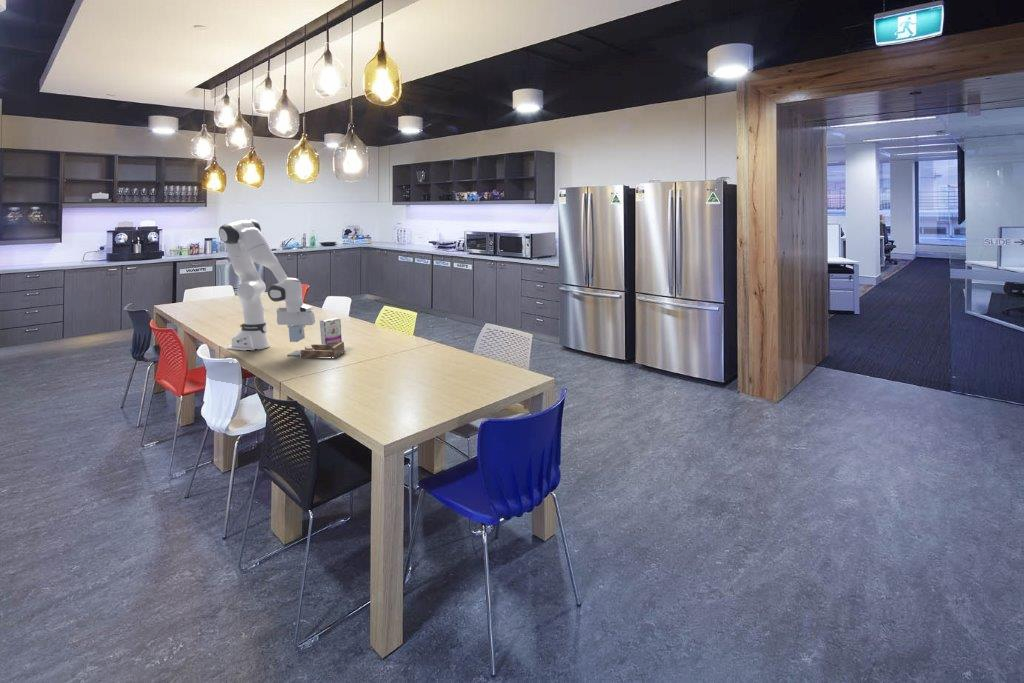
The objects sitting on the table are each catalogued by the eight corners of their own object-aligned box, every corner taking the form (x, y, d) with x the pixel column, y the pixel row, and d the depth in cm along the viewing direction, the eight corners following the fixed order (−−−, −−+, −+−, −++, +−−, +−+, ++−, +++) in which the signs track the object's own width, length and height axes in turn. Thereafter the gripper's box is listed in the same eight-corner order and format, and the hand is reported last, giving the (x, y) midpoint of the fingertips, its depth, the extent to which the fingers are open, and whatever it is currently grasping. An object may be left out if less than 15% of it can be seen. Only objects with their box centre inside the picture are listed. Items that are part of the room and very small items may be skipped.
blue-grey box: (289, 341, 316) (288, 327, 314) (297, 337, 325) (296, 323, 324) (297, 341, 315) (295, 327, 313) (304, 337, 325) (303, 323, 323)
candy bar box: (337, 345, 345) (335, 317, 342) (342, 346, 342) (340, 318, 339) (320, 348, 336) (319, 320, 333) (326, 349, 333) (324, 321, 330)
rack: (301, 357, 314) (300, 346, 313) (312, 351, 329) (311, 340, 328) (334, 358, 313) (334, 347, 312) (344, 352, 328) (343, 341, 326)
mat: (287, 356, 317) (287, 355, 317) (296, 351, 328) (296, 350, 327) (299, 356, 316) (299, 355, 316) (308, 351, 327) (308, 350, 327)
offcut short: (307, 352, 318) (307, 348, 317) (304, 350, 322) (304, 346, 322) (313, 351, 319) (313, 348, 319) (310, 349, 324) (310, 345, 324)
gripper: (273, 308, 314) (275, 333, 317) (310, 309, 313) (312, 334, 316) (279, 306, 320) (281, 331, 323) (315, 307, 319) (317, 332, 322)
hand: (296, 332), depth 319 cm, fingers closed on blue-grey box, 4 cm apart
